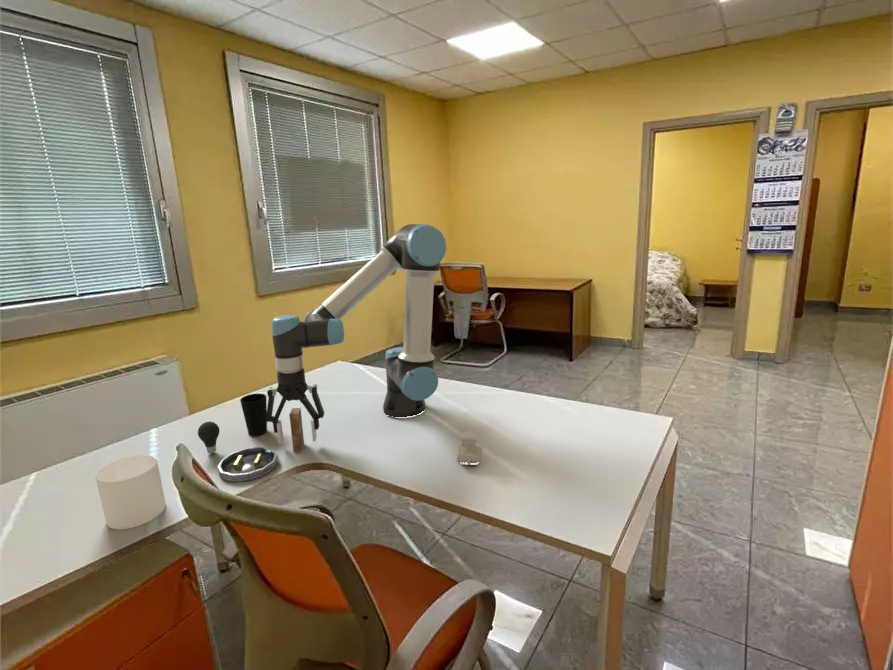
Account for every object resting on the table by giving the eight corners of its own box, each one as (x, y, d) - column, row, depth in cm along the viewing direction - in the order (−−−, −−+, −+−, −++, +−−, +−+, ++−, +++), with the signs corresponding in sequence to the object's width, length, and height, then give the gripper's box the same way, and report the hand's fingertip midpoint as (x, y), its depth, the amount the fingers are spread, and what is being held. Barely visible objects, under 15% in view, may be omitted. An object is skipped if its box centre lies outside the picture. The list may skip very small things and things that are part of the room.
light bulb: (227, 450, 136) (222, 419, 133) (212, 459, 131) (206, 427, 128) (212, 447, 138) (207, 417, 135) (197, 456, 132) (191, 425, 130)
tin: (282, 451, 134) (281, 443, 134) (270, 479, 120) (269, 470, 119) (229, 456, 132) (227, 448, 132) (210, 485, 118) (209, 476, 117)
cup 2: (261, 438, 143) (256, 403, 140) (239, 437, 144) (234, 401, 141) (275, 428, 150) (271, 394, 147) (254, 426, 151) (250, 392, 148)
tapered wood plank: (304, 444, 139) (300, 407, 136) (301, 451, 134) (297, 414, 131) (296, 444, 138) (292, 408, 135) (293, 452, 134) (289, 414, 131)
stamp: (481, 471, 122) (481, 443, 120) (456, 470, 123) (456, 442, 121) (481, 454, 131) (482, 428, 129) (459, 454, 131) (458, 427, 129)
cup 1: (140, 495, 114) (131, 452, 111) (177, 503, 111) (169, 458, 108) (93, 525, 103) (82, 478, 100) (132, 534, 100) (122, 486, 97)
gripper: (330, 362, 135) (336, 431, 141) (254, 367, 132) (263, 437, 138) (327, 371, 128) (334, 443, 134) (247, 375, 125) (256, 449, 131)
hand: (298, 440), depth 136 cm, fingers open, 9 cm apart
